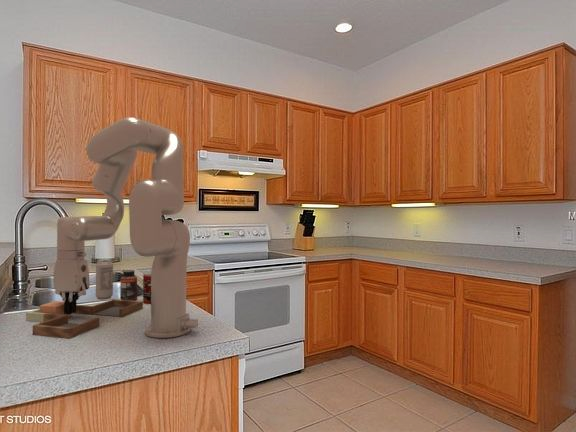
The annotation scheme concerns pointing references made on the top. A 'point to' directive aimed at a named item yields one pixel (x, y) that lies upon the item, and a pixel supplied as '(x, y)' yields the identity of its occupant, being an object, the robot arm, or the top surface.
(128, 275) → the supplement bottle
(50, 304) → the block
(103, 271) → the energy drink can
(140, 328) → the top surface
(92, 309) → the box
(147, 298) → the canned food
